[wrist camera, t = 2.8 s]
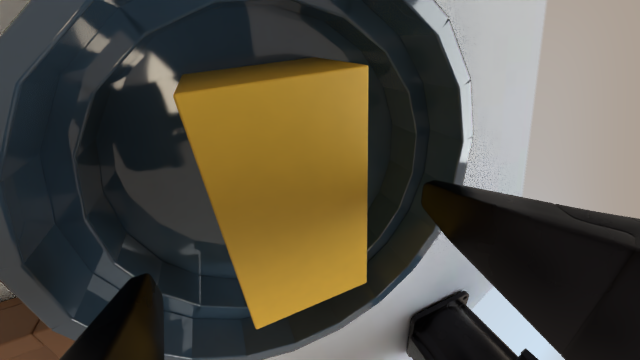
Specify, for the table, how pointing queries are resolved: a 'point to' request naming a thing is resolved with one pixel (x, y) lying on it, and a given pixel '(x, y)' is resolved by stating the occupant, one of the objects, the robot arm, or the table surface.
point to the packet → (284, 176)
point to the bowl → (179, 162)
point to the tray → (28, 335)
